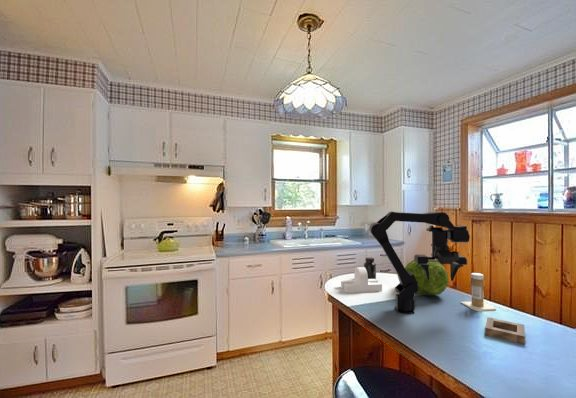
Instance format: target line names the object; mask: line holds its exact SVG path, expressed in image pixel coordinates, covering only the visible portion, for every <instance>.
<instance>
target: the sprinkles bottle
mask: <svg viewBox="0 0 576 398" xmlns="http://www.w3.org/2000/svg"><path fill="white" fill-rule="evenodd" d="M470 278H471V286H470V287H471V288H470V289H471V296H470V297H471V301H472V302H471V304H472V305H474V306H478V307H482V306H484V303H485V302H484V298H485V296H484V278H485V277H484V274H483V273H480V272H472V273H470Z"/></svg>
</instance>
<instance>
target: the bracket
mask: <svg viewBox="0 0 576 398" xmlns="http://www.w3.org/2000/svg"><path fill="white" fill-rule="evenodd" d="M340 285H341V286H340V288H341V287H342V288H341V289H343V292H345V293H351V294H352V293H353V292H355V293H376V292H375V291H381V292H383V283H381V282H379V280H378V279H377V278H376V279H368V274H367V271H366V268H365V267H364V266H359V267H358V266H356V267H355V268H354V279H341V280H340Z"/></svg>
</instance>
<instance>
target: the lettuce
mask: <svg viewBox="0 0 576 398" xmlns="http://www.w3.org/2000/svg"><path fill="white" fill-rule="evenodd" d="M427 264H428V265H429V267H428V269H429V280H427V278H426V275H425V273H424V270H423V268H422V266H421V265H420V264H418V263H416V262H415V261H414V259H413V260H411V261H410V262H408V263H407V264H406V265H405V266H404V268H405V270H406V271H407V272H409V271H411V272H412V273H413V274H414V276H415V279H416V281H418V282H419V284H418V286H419V289H418V291H417V293H416V294H419V295H422V296H427V297H429V296H437V295H441V294H442V293H444V292H445V290H446V288H447V287H448V284H449V275H448V272H447V269H446V268H445V267H444V266H443V264H440V263H439V262H431V261H428V263H427Z"/></svg>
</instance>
